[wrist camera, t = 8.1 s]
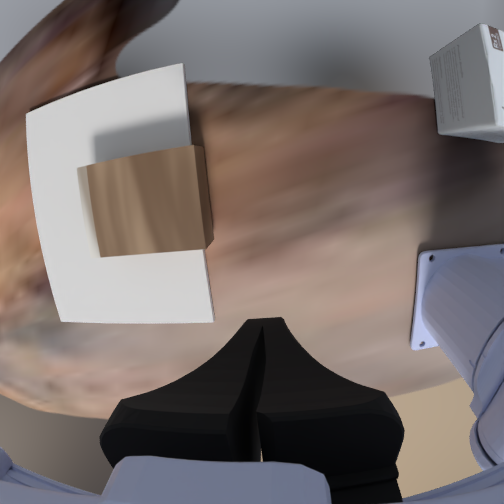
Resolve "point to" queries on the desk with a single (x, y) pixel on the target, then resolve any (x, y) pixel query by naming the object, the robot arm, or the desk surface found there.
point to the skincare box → (471, 85)
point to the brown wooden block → (147, 203)
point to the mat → (70, 210)
